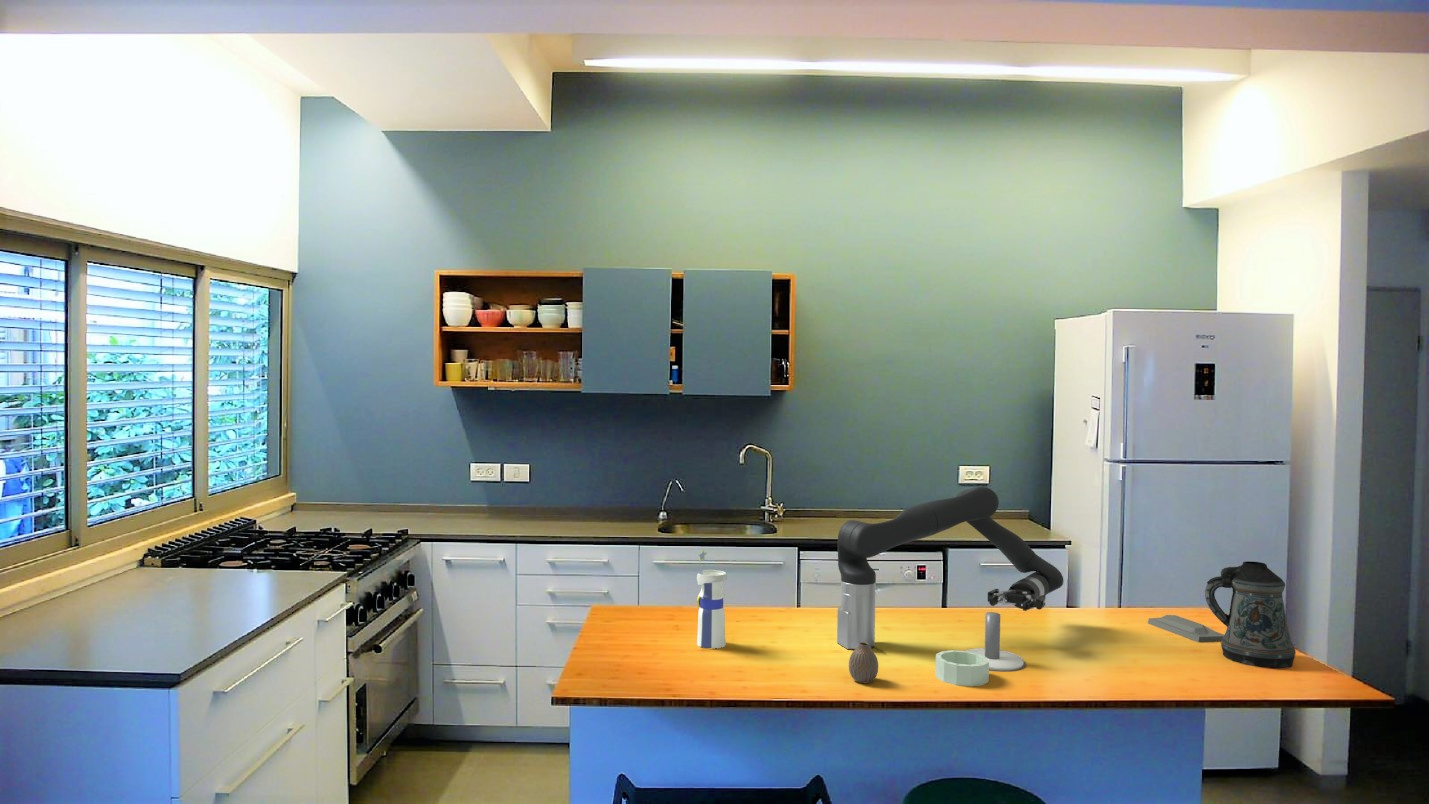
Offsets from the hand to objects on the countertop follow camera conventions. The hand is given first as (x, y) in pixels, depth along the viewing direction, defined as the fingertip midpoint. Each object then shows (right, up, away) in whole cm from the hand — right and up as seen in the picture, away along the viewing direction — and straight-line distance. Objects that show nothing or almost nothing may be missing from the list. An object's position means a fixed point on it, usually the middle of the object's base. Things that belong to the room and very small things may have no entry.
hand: (1007, 604), depth 228 cm
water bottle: (-78, -12, +3) cm, 79 cm away
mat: (-7, -13, -9) cm, 17 cm away
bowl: (-18, -13, -22) cm, 31 cm away
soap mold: (+59, -14, +23) cm, 65 cm away
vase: (-42, -13, -24) cm, 50 cm away
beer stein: (+63, -14, -3) cm, 64 cm away
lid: (-7, -12, -9) cm, 17 cm away
